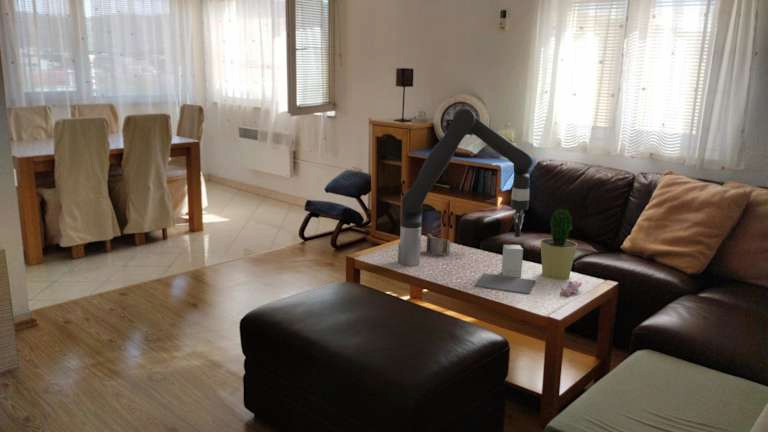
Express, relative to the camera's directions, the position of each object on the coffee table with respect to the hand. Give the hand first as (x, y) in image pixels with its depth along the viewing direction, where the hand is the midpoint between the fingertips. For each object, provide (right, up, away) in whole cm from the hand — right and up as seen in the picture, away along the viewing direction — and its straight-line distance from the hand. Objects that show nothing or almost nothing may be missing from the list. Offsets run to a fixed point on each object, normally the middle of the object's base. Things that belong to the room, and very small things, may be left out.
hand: (517, 236), depth 279 cm
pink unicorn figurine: (+16, -22, -27) cm, 38 cm away
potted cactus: (+15, -17, -5) cm, 23 cm away
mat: (-9, -19, -19) cm, 28 cm away
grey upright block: (-33, -9, +24) cm, 42 cm away
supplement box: (-4, -16, -6) cm, 18 cm away
